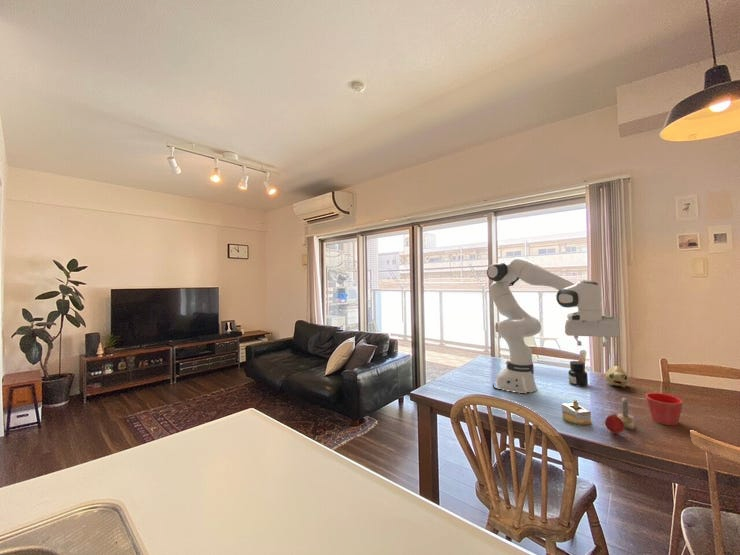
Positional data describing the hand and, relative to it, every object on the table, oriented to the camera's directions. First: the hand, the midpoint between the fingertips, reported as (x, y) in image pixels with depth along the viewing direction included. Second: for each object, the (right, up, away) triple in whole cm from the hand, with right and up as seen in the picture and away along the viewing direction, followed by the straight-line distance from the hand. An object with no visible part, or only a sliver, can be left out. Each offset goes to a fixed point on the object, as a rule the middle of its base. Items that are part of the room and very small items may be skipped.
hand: (591, 345), depth 141 cm
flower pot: (+20, -28, -14) cm, 38 cm away
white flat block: (-13, -27, -9) cm, 32 cm away
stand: (+2, -29, -16) cm, 33 cm away
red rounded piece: (-6, -30, -21) cm, 37 cm away
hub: (-13, -30, -9) cm, 34 cm away
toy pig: (+32, -28, +25) cm, 49 cm away
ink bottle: (+15, -29, +31) cm, 45 cm away
